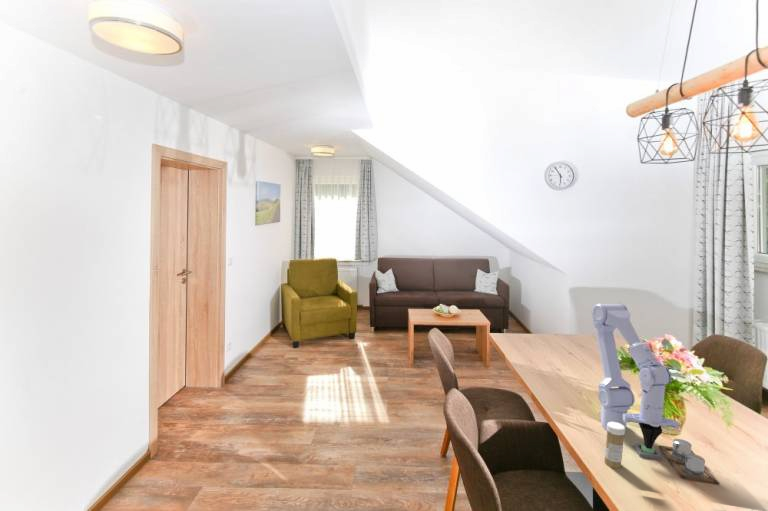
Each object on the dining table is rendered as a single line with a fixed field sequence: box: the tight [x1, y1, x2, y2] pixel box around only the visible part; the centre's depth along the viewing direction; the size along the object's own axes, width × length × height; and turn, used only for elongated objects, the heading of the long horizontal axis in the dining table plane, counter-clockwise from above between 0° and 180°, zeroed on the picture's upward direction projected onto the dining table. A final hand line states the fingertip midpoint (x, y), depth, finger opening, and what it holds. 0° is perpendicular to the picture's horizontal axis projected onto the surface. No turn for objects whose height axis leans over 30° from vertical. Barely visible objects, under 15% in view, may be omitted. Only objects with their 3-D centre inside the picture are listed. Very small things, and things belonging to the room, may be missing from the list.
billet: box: [683, 453, 706, 478], centre depth 117 cm, size 4×4×6 cm
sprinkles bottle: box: [603, 422, 626, 469], centre depth 120 cm, size 5×5×13 cm
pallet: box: [658, 444, 720, 486], centre depth 122 cm, size 17×9×2 cm, turn 165°
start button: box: [641, 443, 655, 454], centre depth 127 cm, size 3×3×3 cm
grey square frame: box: [632, 442, 663, 461], centre depth 127 cm, size 6×6×2 cm
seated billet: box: [671, 438, 692, 461], centre depth 125 cm, size 4×4×6 cm
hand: (648, 447), depth 127 cm, fingers closed, pressing on start button
